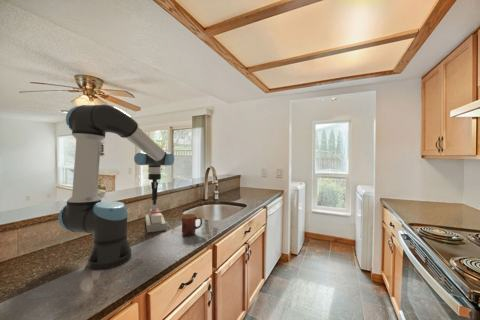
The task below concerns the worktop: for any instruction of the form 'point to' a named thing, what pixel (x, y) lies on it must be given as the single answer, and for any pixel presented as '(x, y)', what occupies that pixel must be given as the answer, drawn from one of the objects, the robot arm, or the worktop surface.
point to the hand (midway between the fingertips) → (154, 209)
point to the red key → (155, 211)
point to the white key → (156, 218)
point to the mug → (189, 224)
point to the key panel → (156, 226)
